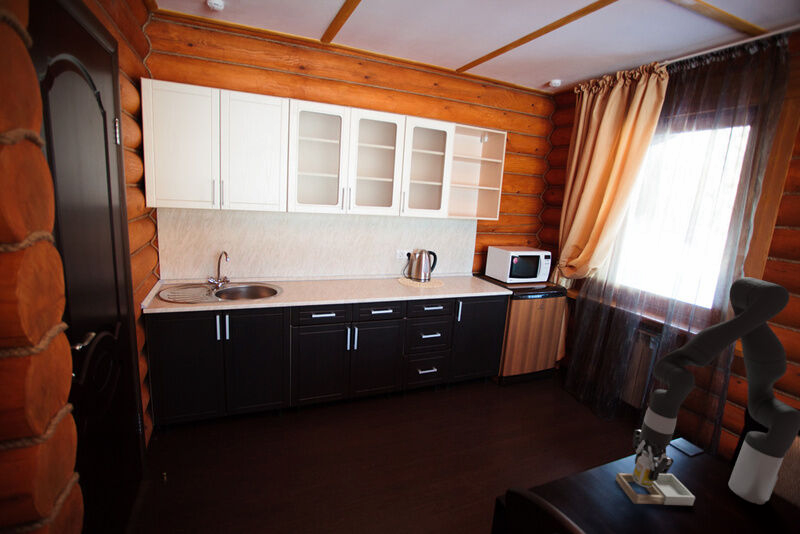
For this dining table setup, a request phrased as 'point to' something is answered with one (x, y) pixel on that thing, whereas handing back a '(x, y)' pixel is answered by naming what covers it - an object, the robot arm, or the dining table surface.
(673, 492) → the tray
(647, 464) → the supplement bottle
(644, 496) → the wooden frame
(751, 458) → the robot arm
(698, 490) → the dining table surface
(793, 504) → the dining table surface
